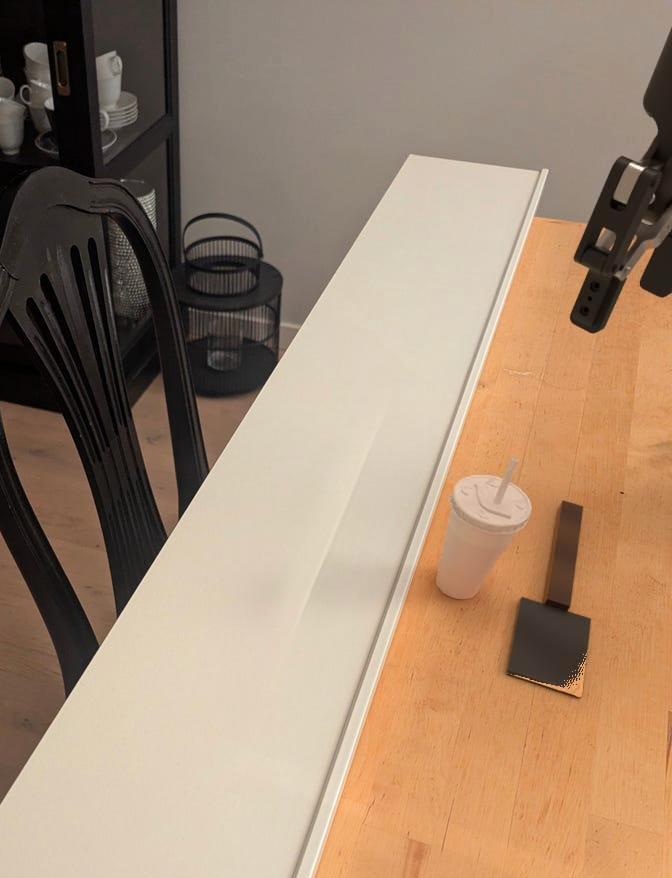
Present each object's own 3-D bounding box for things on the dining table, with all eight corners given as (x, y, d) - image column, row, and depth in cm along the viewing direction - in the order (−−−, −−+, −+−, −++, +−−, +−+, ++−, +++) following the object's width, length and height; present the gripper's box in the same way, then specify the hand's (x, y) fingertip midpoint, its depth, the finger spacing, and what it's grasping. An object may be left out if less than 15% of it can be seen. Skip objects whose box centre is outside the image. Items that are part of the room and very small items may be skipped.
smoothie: (447, 618, 77) (502, 489, 66) (406, 568, 81) (452, 438, 70) (508, 600, 79) (570, 471, 69) (465, 551, 83) (518, 423, 72)
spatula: (537, 503, 89) (541, 493, 88) (599, 521, 87) (604, 512, 87) (505, 674, 73) (510, 664, 72) (580, 698, 72) (586, 689, 71)
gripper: (753, 68, 43) (610, 368, 56) (875, 28, 50) (724, 303, 62) (616, 23, 47) (511, 314, 59) (747, -9, 54) (628, 258, 66)
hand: (620, 308), depth 61 cm, fingers open, 8 cm apart
